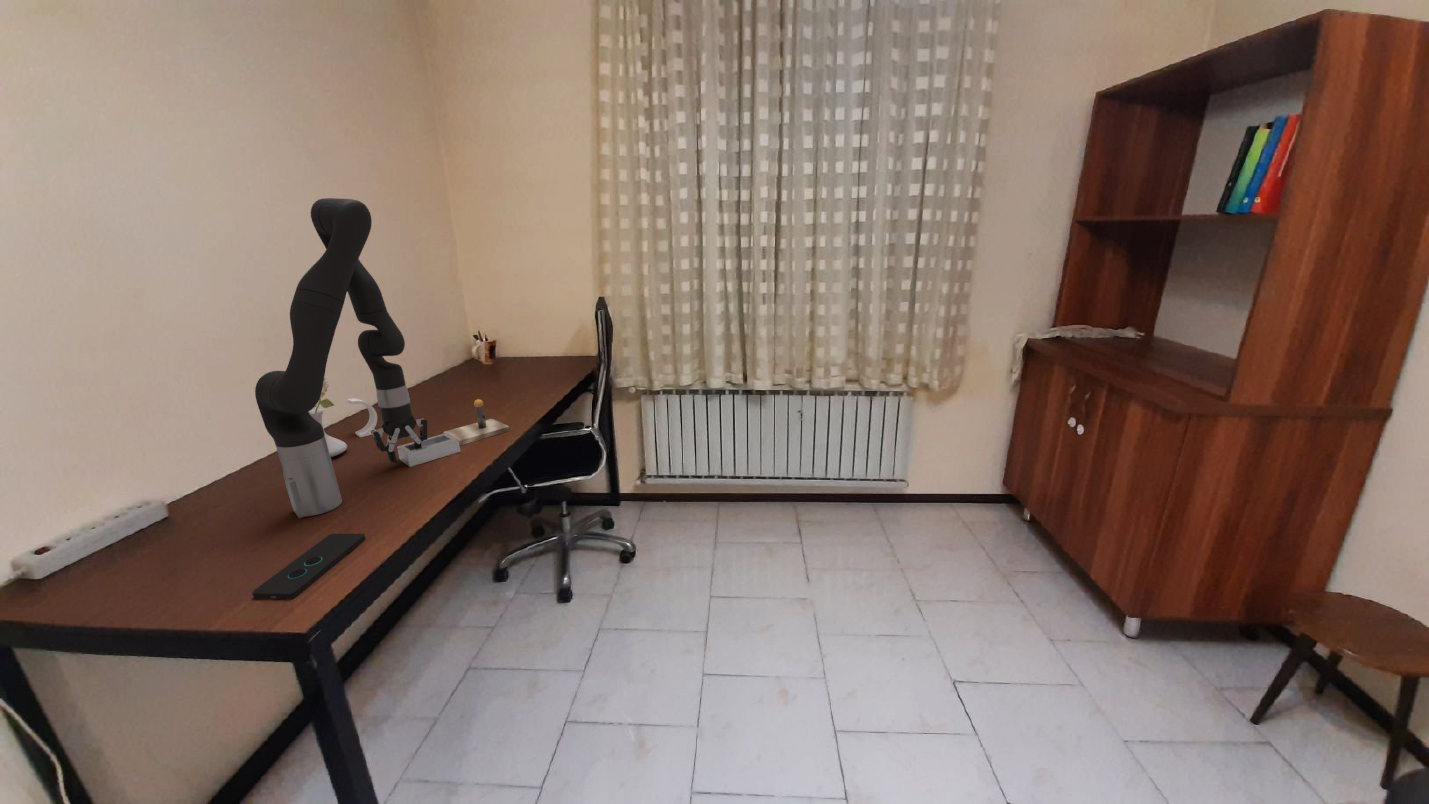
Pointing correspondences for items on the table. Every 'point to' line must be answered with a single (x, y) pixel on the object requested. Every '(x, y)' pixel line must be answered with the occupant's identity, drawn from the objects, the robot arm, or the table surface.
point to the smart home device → (308, 567)
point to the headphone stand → (372, 418)
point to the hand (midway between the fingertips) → (406, 459)
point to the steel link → (429, 449)
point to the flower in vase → (332, 443)
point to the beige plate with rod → (478, 427)
